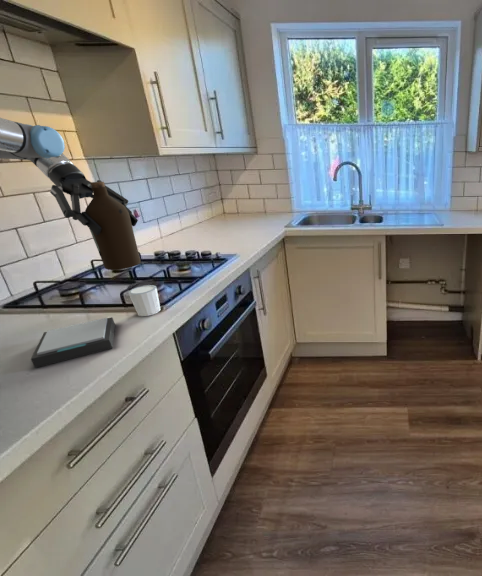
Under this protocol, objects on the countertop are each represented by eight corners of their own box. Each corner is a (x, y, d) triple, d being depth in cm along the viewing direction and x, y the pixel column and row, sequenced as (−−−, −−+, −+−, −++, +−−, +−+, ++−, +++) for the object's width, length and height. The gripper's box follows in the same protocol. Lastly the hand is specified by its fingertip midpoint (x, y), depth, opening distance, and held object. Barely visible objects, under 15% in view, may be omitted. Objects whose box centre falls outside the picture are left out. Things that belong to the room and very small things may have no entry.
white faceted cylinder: (147, 318, 100) (139, 295, 97) (129, 315, 102) (121, 292, 99) (168, 308, 106) (162, 286, 103) (151, 305, 108) (144, 283, 105)
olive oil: (146, 258, 119) (124, 179, 109) (138, 268, 109) (112, 182, 100) (109, 262, 115) (82, 181, 106) (97, 272, 106) (66, 185, 97)
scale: (35, 368, 79) (29, 356, 78) (47, 340, 90) (42, 330, 89) (112, 348, 86) (108, 337, 85) (115, 325, 97) (111, 315, 96)
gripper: (17, 165, 93) (81, 227, 95) (104, 160, 114) (156, 211, 115) (12, 186, 97) (73, 245, 99) (98, 177, 117) (147, 227, 119)
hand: (118, 227), depth 107 cm, fingers closed on olive oil, 11 cm apart
